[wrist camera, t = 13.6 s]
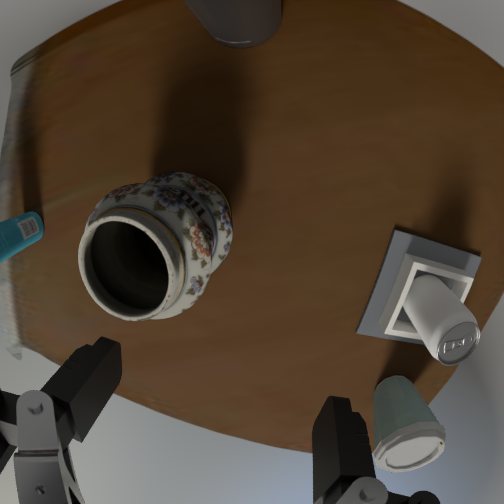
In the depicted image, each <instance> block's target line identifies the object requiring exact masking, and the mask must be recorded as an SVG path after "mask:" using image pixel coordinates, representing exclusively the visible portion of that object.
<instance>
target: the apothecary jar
mask: <svg viewBox="0 0 504 504" xmlns="http://www.w3.org/2000/svg"><path fill="white" fill-rule="evenodd" d="M232 237H233V224H232V218H231V210H230V206H229V203H228V201H227V199H226V197H225V196H224V194H223V193H222V191H221V190H220V189H219V188H218V187H217V186H215V185H214V184H213V183H211V182H210V181H208V180H206V179H203V178H200V177H198V176H196V175H193V174H189V173H185V172H167V173H163V174H160V175H157V176H155V177H153V178H151V179H150V180H148V181H147V182H145V183H136V184H130V185H125V186H122V187H120V188H117V189H115V190H113V191H111V192H110V193H108V194H107V195H106V196H104V197H103V198H102V199H101V200H100V201H99V202H98V204H97V205H96V206H95V208H94V209H93V211H92V212H91V214H90V216H89V219H88V221H87V224H86V228H85V233H84V235H83V237H82V239H81V242H80V245H79V252H78V261H79V268H80V273H81V276H82V279H83V282H84V284H85V286H86V288H87V290H88V292H89V294H90V295H91V297H92V298H93V299H94V300H95V302H96V303H97V304H98V305H99V306H100V307H101V308H103V309H104V310H105V311H107V312H108V313H110V314H111V315H113V316H115V317H118V318H120V319H124V320H129V321H142V320H147V319H164V318H169V317H172V316H175V315H178V314H180V313H182V312H184V311H185V310H187V309H188V308H189V307H191V306H192V305H193V304H194V303H195V302H196V301H197V300H198V299H199V297H200V296H201V294H202V293H203V291H204V289H205V287H206V285H207V283H208V280H209V277H210V274H211V273H212V272H214V271H215V270H216V269H217V268H218V267H219V266H220V265H221V264H222V262H223V261H224V259H225V258H226V256H227V254H228V252H229V249H230V246H231V243H232Z"/></svg>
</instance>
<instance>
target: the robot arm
mask: <svg viewBox="0 0 504 504" xmlns="http://www.w3.org/2000/svg"><path fill="white" fill-rule="evenodd" d="M184 2H185V3H186V4H187V5H188V7H189V8H190V9H191V11H192V12H193V13H194V14H195V16H196V17H197V18H198V20H199V21H200V22H201V23H202V25H203V26H204V27H205V29H206V30H207V31H208V33H209V34H210V35H211V36H212V37H213V38H214V39H215V40H216V41H218V42H219V43H221V44H223V45H226V46H229V47H234V48H246V47H252V46H255V45H259V44H261V43H263V42H265V41H266V40H268V39H269V38H270V37H272V36H273V35H274V33H275V32H276V31H277V29H278V28H279V26H280V23H281V19H282V12H281V0H184ZM121 376H122V360H121V345H120V343H119V342H116V341H113V340H111V339H108V338H105V337H100V338H99V339H98V340H97V341H96V342H95V343H94V345H93V346H91V345H88V344H86V345H84V346H82V347H80V348H78V349H76V350H75V351H74V353H73V354H72V355H71V356H70V357H69V359H67V360H66V361H65V363H64V364H63V366H61V367H60V368H59V369H58V371H57V372H56V373H55V374H54V375H53V376H52V377H51V378H50V380H49V381H48V382H47V383H46V384H45V385H44V387H43V388H42V389H41V390H40V391H38V390H31V391H27V392H25V393H23V394H22V395H21V396H20V395H16V394H12V393H8V392H5V391H1V389H0V474H1V472H2V470H3V469H4V467H5V465H6V464H7V462H8V460H9V459H10V457H11V456H12V454H13V452H14V451H15V449H16V448H17V447H18V453H14V469H15V476H16V484H17V492H18V498H19V503H20V504H85V502H84V499H83V497H82V494H81V492H80V489H79V486H78V483H77V479H76V475H75V471H74V467H73V462H72V458H71V453H70V449H69V443H70V442H71V440H72V439H75V440H77V441H80V442H81V443H82V442H83V440H84V438H85V437H86V435H87V434H88V432H89V430H90V429H91V427H92V425H93V424H94V422H95V421H96V419H97V417H98V416H99V414H100V413H101V411H102V410H103V408H104V407H105V405H106V403H107V402H108V400H109V399H110V397H111V395H112V394H113V393H114V391H115V389H116V388H117V386H118V385H119V383H120V380H121ZM367 435H368V432H367V427H366V422H365V421H364V419H363V418H362V416H361V415H360V413H359V412H352V408H351V403H350V399H349V398H344V397H336V396H329V397H328V398H327V400H326V402H325V403H324V405H323V407H322V409H321V411H320V413H319V415H318V416H317V418H316V420H315V422H314V426H313V431H312V447H313V504H440V501H439V499H438V498H437V497H436V496H435V495H434V494H432V493H431V492H428V491H418V492H416V493H414V494H413V495H412V496H411V497H408V496H404V495H399V494H395V493H392V492H389V491H387V488H386V486H385V485H384V484H383V483H382V482H381V481H380V480H378V479H376V475H375V469H374V464H373V458H372V453H371V447H370V445H369V443H370V442H369V437H368V436H367Z"/></svg>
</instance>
